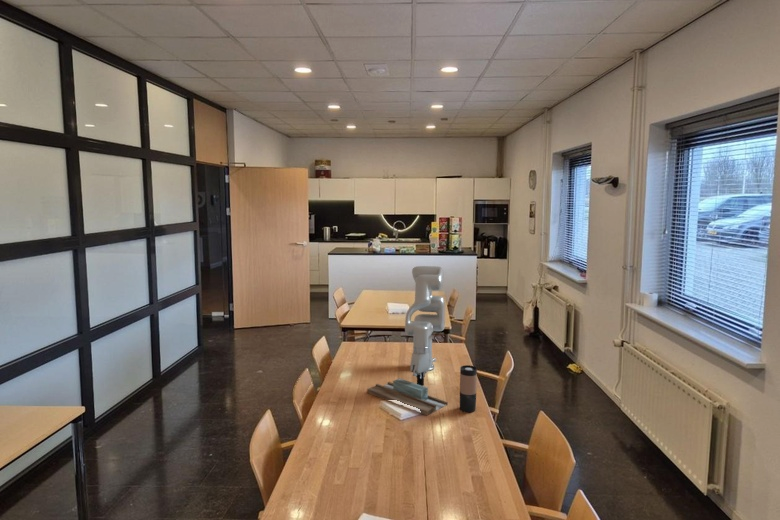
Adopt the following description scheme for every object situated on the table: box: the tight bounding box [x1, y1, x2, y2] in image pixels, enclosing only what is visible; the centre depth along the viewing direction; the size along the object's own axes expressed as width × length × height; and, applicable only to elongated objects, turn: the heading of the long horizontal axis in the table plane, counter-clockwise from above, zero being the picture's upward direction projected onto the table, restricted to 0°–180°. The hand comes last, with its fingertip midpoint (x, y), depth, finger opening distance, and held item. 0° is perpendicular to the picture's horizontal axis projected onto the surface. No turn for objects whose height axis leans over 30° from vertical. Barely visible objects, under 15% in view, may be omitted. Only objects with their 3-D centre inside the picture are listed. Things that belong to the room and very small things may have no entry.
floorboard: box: [366, 381, 448, 416], centre depth 234 cm, size 16×38×3 cm, turn 47°
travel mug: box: [459, 364, 478, 414], centre depth 221 cm, size 8×8×20 cm
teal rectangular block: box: [392, 378, 429, 401], centre depth 237 cm, size 5×18×6 cm, turn 47°
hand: (420, 385), depth 241 cm, fingers closed
